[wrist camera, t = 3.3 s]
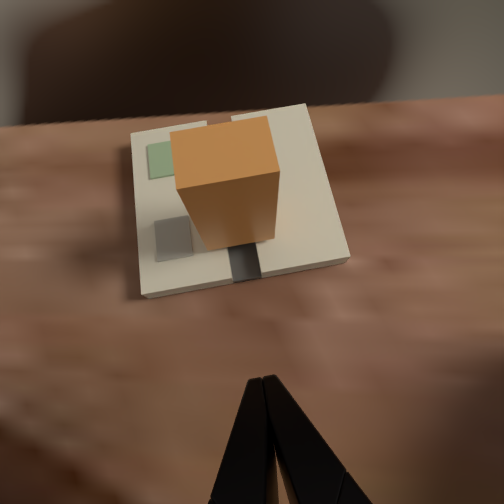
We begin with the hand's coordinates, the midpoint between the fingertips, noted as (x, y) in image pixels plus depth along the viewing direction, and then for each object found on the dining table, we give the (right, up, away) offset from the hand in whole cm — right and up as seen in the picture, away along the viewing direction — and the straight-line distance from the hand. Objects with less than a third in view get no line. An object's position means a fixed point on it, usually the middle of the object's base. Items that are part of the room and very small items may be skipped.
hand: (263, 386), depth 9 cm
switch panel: (-2, +8, +15) cm, 17 cm away
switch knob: (-1, +6, +13) cm, 14 cm away
